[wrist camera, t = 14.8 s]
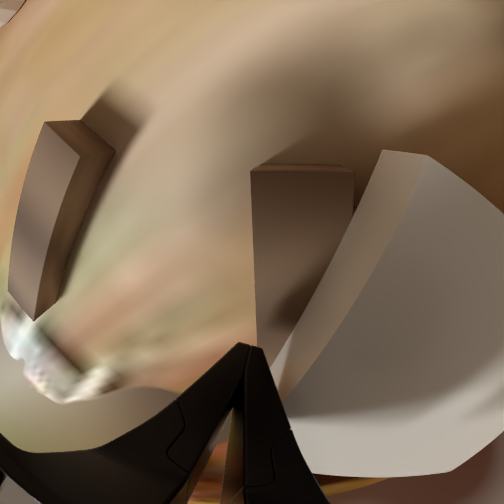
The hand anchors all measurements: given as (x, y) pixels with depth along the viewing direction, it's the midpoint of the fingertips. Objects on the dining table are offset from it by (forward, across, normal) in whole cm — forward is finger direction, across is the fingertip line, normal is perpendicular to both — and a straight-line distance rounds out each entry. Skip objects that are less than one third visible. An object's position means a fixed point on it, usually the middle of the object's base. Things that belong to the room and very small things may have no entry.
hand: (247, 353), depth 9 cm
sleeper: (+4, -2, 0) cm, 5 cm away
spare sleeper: (+4, +12, 0) cm, 13 cm away
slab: (+1, -8, 0) cm, 9 cm away
